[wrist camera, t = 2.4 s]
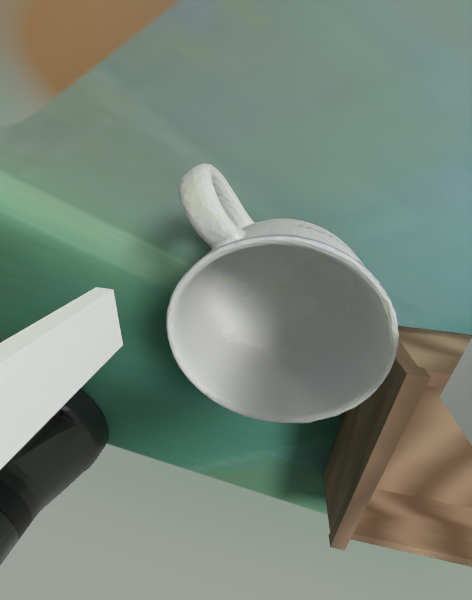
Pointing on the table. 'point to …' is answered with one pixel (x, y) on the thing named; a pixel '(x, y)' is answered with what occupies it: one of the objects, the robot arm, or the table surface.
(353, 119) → the table surface
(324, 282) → the teacup
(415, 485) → the crate
